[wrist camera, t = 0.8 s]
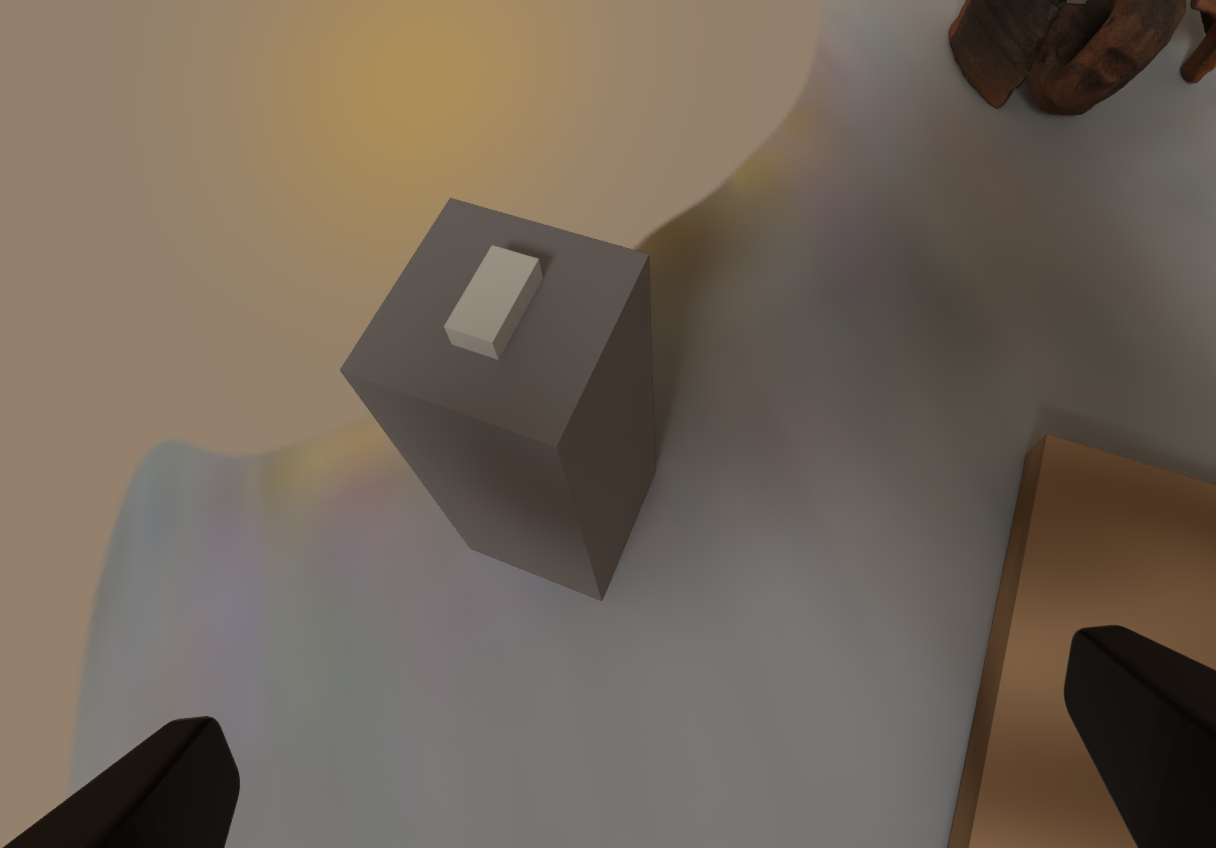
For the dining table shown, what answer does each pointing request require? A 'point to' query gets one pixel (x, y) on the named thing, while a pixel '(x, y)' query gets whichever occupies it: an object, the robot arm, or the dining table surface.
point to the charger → (520, 388)
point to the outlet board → (1049, 617)
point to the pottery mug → (1070, 47)
